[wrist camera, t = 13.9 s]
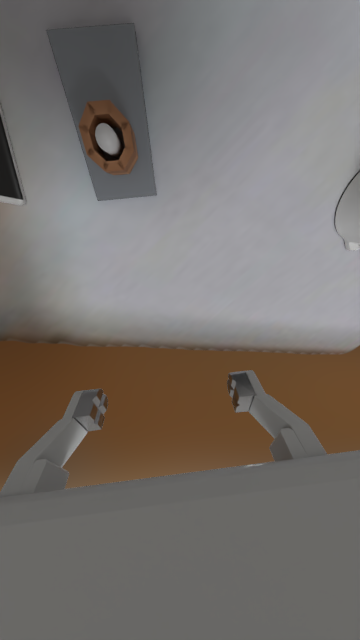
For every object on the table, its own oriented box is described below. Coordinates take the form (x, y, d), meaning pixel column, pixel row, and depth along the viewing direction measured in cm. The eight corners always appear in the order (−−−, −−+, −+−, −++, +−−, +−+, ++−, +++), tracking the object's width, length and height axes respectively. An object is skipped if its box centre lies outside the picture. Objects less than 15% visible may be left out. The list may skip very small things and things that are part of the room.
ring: (131, 115, 23) (124, 98, 19) (140, 172, 27) (137, 169, 23) (87, 118, 23) (71, 102, 19) (102, 176, 27) (92, 173, 23)
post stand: (135, 31, 20) (124, -34, 15) (156, 195, 30) (155, 195, 24) (51, 37, 20) (7, -26, 14) (100, 200, 30) (84, 202, 24)
